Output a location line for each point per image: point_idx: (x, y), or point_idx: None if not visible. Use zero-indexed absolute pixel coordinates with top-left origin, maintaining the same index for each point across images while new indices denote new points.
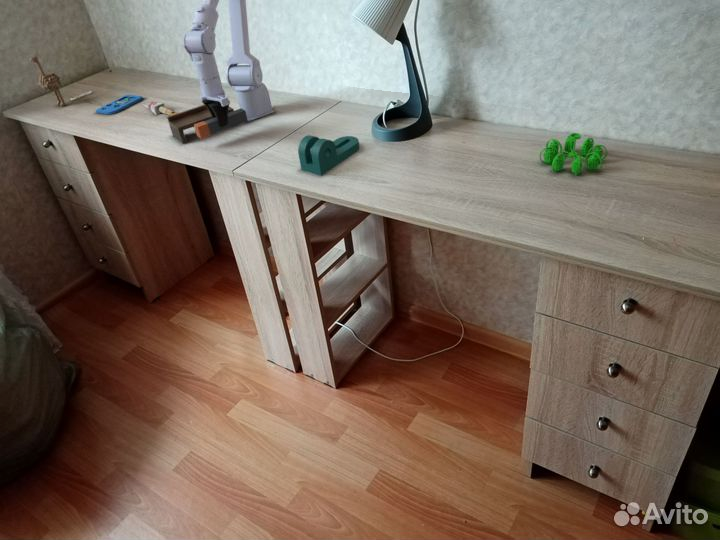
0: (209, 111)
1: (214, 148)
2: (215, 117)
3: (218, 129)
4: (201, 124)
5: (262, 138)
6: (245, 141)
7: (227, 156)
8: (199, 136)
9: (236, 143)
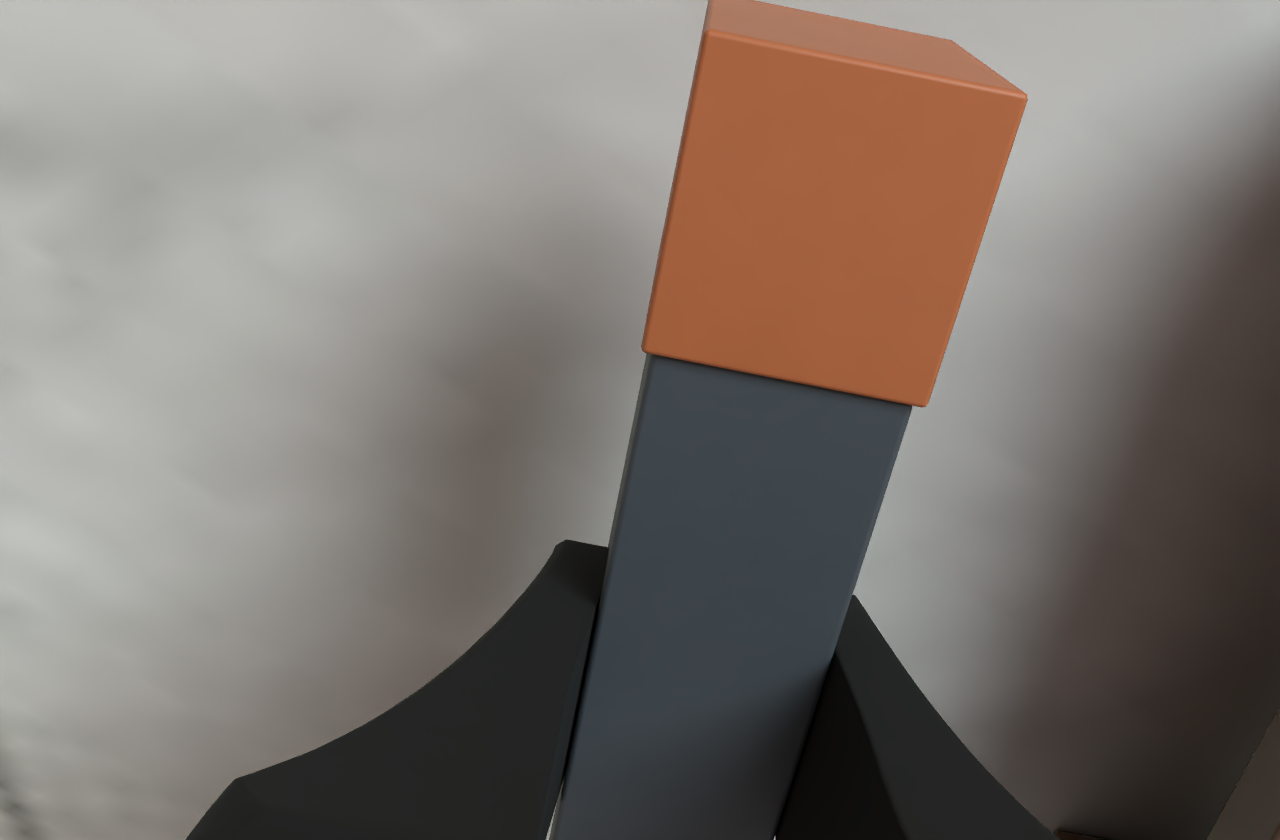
0: (972, 770)
1: (632, 146)
2: (804, 691)
3: (625, 464)
4: (763, 223)
5: (266, 732)
6: (391, 570)
7: (115, 62)
8: (795, 12)
9: (453, 463)
